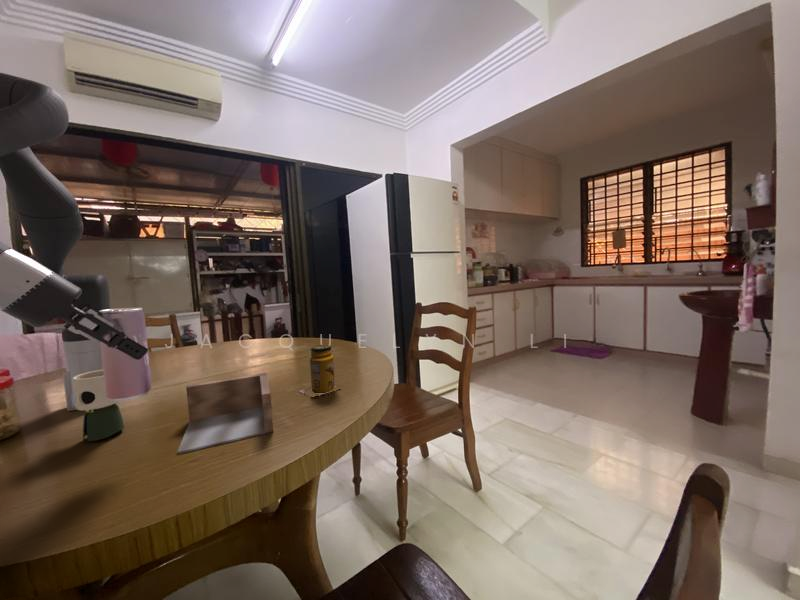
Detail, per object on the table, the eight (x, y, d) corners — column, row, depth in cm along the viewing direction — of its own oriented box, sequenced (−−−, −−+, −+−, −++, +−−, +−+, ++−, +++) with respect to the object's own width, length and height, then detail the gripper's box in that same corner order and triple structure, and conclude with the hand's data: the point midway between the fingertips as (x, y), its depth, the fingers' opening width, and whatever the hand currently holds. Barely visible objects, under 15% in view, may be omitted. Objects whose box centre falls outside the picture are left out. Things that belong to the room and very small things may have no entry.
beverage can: (125, 390, 58) (116, 307, 57) (159, 388, 58) (152, 306, 57) (96, 403, 52) (86, 312, 51) (135, 401, 53) (126, 311, 51)
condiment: (341, 389, 86) (338, 345, 85) (312, 399, 80) (309, 352, 79) (326, 383, 91) (324, 342, 90) (299, 392, 85) (296, 348, 84)
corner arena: (177, 454, 57) (172, 411, 56) (190, 420, 71) (187, 385, 70) (273, 431, 64) (270, 393, 63) (268, 405, 77) (266, 372, 77)
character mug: (64, 441, 63) (56, 377, 62) (106, 424, 70) (99, 366, 69) (102, 448, 60) (93, 381, 59) (142, 430, 67) (135, 369, 66)
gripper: (54, 268, 43) (168, 339, 53) (46, 270, 52) (145, 331, 62) (-4, 312, 39) (131, 379, 50) (-1, 306, 49) (112, 364, 59)
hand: (138, 352), depth 56 cm, fingers closed on beverage can, 5 cm apart
